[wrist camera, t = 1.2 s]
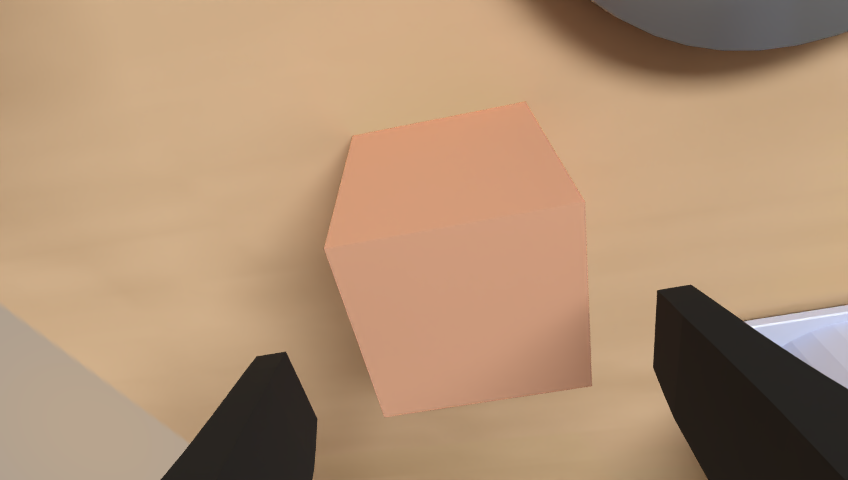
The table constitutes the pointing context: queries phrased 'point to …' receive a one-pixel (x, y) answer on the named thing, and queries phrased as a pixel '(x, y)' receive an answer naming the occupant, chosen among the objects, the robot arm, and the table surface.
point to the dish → (734, 21)
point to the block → (463, 261)
